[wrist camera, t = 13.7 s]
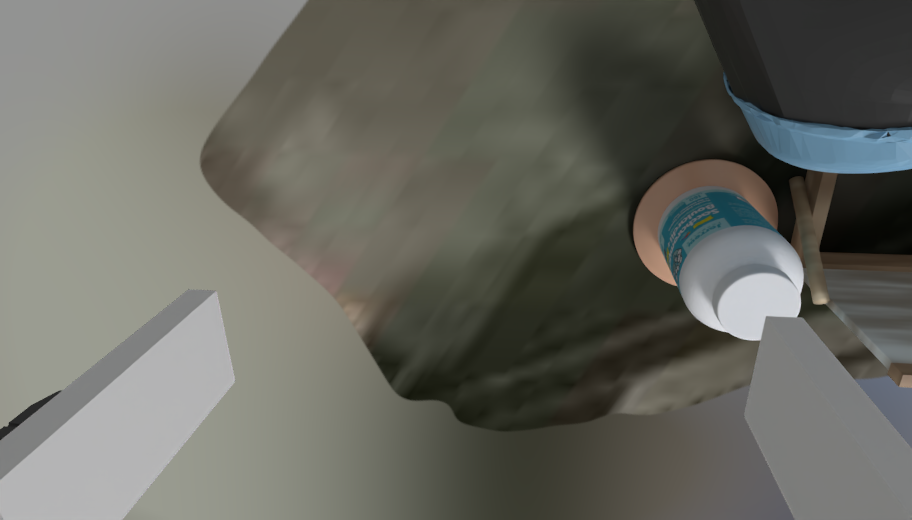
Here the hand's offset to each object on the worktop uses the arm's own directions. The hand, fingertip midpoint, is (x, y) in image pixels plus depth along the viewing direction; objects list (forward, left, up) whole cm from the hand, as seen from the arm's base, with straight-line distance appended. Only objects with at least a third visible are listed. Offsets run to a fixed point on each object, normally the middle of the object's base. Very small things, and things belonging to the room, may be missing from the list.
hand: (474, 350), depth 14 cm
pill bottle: (+9, +15, -34) cm, 38 cm away
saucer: (+9, +15, -35) cm, 39 cm away
